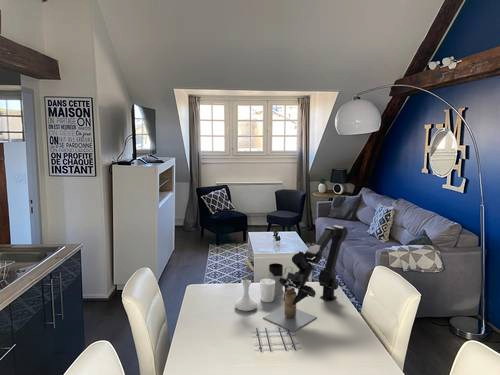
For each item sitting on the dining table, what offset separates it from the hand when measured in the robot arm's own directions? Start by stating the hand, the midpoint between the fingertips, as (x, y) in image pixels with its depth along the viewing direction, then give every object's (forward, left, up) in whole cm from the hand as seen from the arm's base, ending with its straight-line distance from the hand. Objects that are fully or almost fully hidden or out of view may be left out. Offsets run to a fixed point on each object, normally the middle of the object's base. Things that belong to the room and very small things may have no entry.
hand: (288, 302), depth 179 cm
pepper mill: (-1, 0, -7) cm, 7 cm away
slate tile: (-1, 0, -8) cm, 8 cm away
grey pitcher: (-22, -23, -8) cm, 33 cm away
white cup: (-9, -21, -8) cm, 24 cm away
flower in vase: (+5, -23, -8) cm, 25 cm away
